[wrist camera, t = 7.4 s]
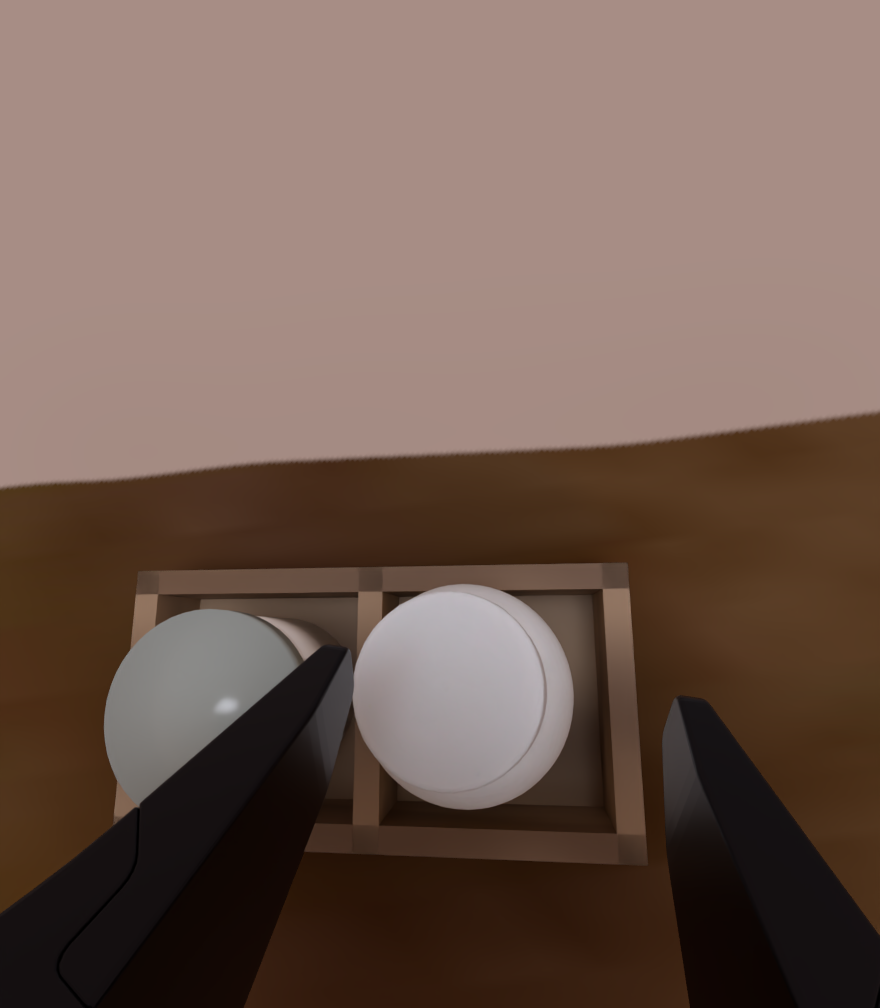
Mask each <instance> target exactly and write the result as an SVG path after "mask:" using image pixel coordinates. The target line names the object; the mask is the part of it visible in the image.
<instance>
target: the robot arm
mask: <svg viewBox="0 0 880 1008" xmlns="http://www.w3.org/2000/svg"><path fill="white" fill-rule="evenodd" d="M353 692H354V676H353V667H352V657H351V652H350V650H349V648H347V647H344V646H337V645H330V644H326V645H323V646H321V647H320V648H319V649H318V650H316V651H315V652H314V653H313V654H312V655H311V656H309V657H308V658H307V659H306V660H305V661H304V662H303V663H301V664H300V665H299V666H298V667H297V668H296V669H294V670H293V671H292V672H291V673H290V674H289V675H287V676H286V677H285V678H284V679H283V680H282V681H281V682H279V683H278V684H277V685H276V686H275V687H274V688H272V689H271V690H270V691H269V692H268V693H267V694H265V695H264V696H263V697H262V698H261V699H260V700H258V701H257V702H256V703H255V704H254V705H253V706H252V707H250V708H249V709H248V710H247V711H246V712H245V713H243V714H242V715H241V716H240V717H239V718H238V719H236V720H235V721H234V722H233V723H232V724H231V725H230V726H228V727H227V728H226V729H225V730H224V731H223V732H221V733H220V734H219V735H218V736H217V737H216V738H214V739H213V740H212V741H211V742H210V743H209V744H208V745H206V746H205V747H204V748H203V749H202V750H201V751H199V752H198V753H197V754H196V755H195V756H194V757H192V758H191V759H190V760H189V761H188V762H187V763H186V764H184V765H183V766H182V767H181V768H180V769H179V770H177V771H176V772H175V773H174V774H173V775H172V776H170V777H169V778H168V779H167V780H166V781H165V782H164V783H162V784H161V785H160V786H159V787H158V788H157V789H155V790H154V791H153V792H152V793H151V794H150V795H148V796H147V797H146V798H145V799H144V800H143V801H142V802H141V803H140V805H139V808H138V807H134V808H133V809H132V810H131V811H130V812H128V813H127V814H126V815H125V816H124V817H123V818H122V819H120V820H119V821H118V822H117V823H116V824H115V825H113V826H112V827H111V828H110V829H109V830H107V831H106V832H105V833H104V834H103V835H101V836H100V837H99V838H98V839H97V840H95V841H94V842H93V843H92V844H91V845H89V846H88V847H87V848H86V849H84V850H83V851H82V852H81V853H80V854H78V855H77V856H76V857H75V858H74V859H72V860H71V861H70V862H68V863H67V864H66V865H64V866H63V867H62V868H61V869H59V870H58V871H57V872H55V873H54V874H53V875H51V876H50V877H49V878H47V879H46V880H45V881H43V882H42V883H41V884H40V885H38V886H37V887H36V888H34V889H33V890H32V891H30V892H29V893H28V894H26V895H25V896H24V897H22V898H21V899H20V900H18V901H17V902H15V903H14V904H13V905H11V906H10V907H9V908H7V909H6V910H5V911H3V912H2V913H0V1008H244V1005H245V1003H246V1000H247V998H248V995H249V992H250V990H251V987H252V985H253V982H254V979H255V977H256V974H257V972H258V969H259V967H260V964H261V961H262V959H263V956H264V954H265V951H266V949H267V946H268V943H269V941H270V938H271V936H272V933H273V930H274V928H275V925H276V923H277V920H278V918H279V915H280V912H281V910H282V907H283V905H284V902H285V900H286V897H287V894H288V892H289V889H290V887H291V884H292V881H293V879H294V876H295V874H296V871H297V869H298V866H299V863H300V861H301V858H302V856H303V853H304V851H305V848H306V845H307V843H308V840H309V838H310V835H311V832H312V830H313V827H314V825H315V822H316V820H317V817H318V814H319V812H320V809H321V807H322V804H323V801H324V798H325V796H326V793H327V790H328V787H329V783H330V780H331V776H332V772H333V769H334V765H335V761H336V757H337V754H338V750H339V746H340V742H341V739H342V735H343V731H344V727H345V724H346V720H347V716H348V712H349V708H350V705H351V701H352V697H353ZM662 754H663V780H664V806H665V832H666V849H667V858H668V866H669V873H670V880H671V886H672V893H673V899H674V906H675V912H676V919H677V925H678V932H679V938H680V945H681V951H682V958H683V964H684V971H685V977H686V984H687V990H688V997H689V1004H690V1008H880V935H879V934H878V933H877V931H876V930H875V929H874V927H873V926H872V925H871V923H870V922H869V920H868V919H867V918H866V916H865V915H864V914H863V912H862V911H861V910H860V908H859V907H858V905H857V904H856V903H855V901H854V900H853V899H852V897H851V896H850V895H849V893H848V892H847V890H846V889H845V888H844V886H843V885H842V884H841V882H840V881H839V880H838V878H837V877H836V875H835V874H834V873H833V871H832V870H831V869H830V867H829V866H828V865H827V863H826V862H825V860H824V859H823V858H822V856H821V855H820V854H819V852H818V851H817V850H816V848H815V847H814V846H813V844H812V843H811V841H810V840H809V839H808V837H807V836H806V835H805V833H804V832H803V831H802V829H801V828H800V826H799V825H798V824H797V822H796V821H795V820H794V818H793V817H792V816H791V814H790V813H789V811H788V810H787V809H786V807H785V806H784V805H783V803H782V802H781V801H780V799H779V798H778V796H777V795H776V794H775V792H774V791H773V790H772V788H771V787H770V786H769V784H768V783H767V781H766V780H765V779H764V777H763V776H762V775H761V773H760V772H759V771H758V769H757V768H756V766H755V765H754V764H753V762H752V761H751V760H750V758H749V757H748V756H747V754H746V753H745V751H744V750H743V749H742V747H741V746H740V745H739V743H738V742H737V741H736V739H735V738H734V736H733V735H732V734H731V732H730V731H729V730H728V728H727V727H726V726H725V724H724V723H723V721H722V720H721V719H720V717H719V716H718V715H717V713H716V712H715V711H714V709H713V708H712V706H711V705H710V704H709V703H708V702H707V701H706V700H704V699H701V698H695V697H688V696H681V695H680V696H677V697H676V698H675V699H674V700H673V703H672V706H671V709H670V712H669V716H668V719H667V722H666V725H665V728H664V732H663V739H662Z"/></svg>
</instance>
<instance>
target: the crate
mask: <svg viewBox="0 0 880 1008" xmlns="http://www.w3.org/2000/svg"><path fill="white" fill-rule="evenodd" d="M456 584H472V585H481V586H486V587H490V588H494V589H497V590H500V591H503V592H505V593H507V594H509V595H511V596H513V597H515V598H517V599H519V600H520V601H522V602H523V603H525V604H526V605H528V606H529V607H530V608H531V609H532V610H534V611H535V612H536V613H537V614H538V615H539V616H540V617H541V618H542V619H543V620H544V621H545V622H546V624H547V625H548V626H549V627H550V628H551V630H552V631H553V633H554V634H555V636H556V638H557V639H558V641H559V643H560V644H561V647H562V649H563V651H564V653H565V656H566V658H567V661H568V664H569V667H570V671H571V676H572V682H573V692H574V705H573V715H572V721H571V726H570V730H569V733H568V737H567V739H566V742H565V744H564V747H563V749H562V751H561V753H560V755H559V756H558V758H557V760H556V761H555V763H554V764H553V766H552V767H551V768H550V769H549V771H548V772H547V773H546V774H545V775H544V776H543V777H542V778H541V780H540V781H539V782H537V783H536V784H535V785H534V786H533V787H532V788H530V789H529V790H527V791H526V792H525V793H523V794H522V795H520V796H518V797H516V798H514V799H512V800H510V801H508V802H505V803H502V804H500V805H496V806H493V807H490V808H483V809H473V810H463V809H452V808H446V807H442V806H439V805H435V804H432V803H429V802H427V801H425V800H423V799H421V798H419V797H417V796H415V795H414V794H412V793H410V792H409V791H407V790H406V789H404V788H403V787H402V786H401V785H400V784H399V783H397V782H396V781H395V780H394V779H393V778H392V777H391V776H390V775H389V774H388V773H387V772H386V771H385V769H384V768H383V767H382V765H381V764H380V763H379V761H378V760H377V759H376V758H375V757H374V755H373V754H372V752H371V751H370V749H369V748H368V746H367V745H366V743H365V742H364V740H363V737H362V735H361V732H360V730H359V727H358V724H357V721H356V718H355V712H354V714H353V717H352V720H351V723H350V726H349V728H348V730H347V732H346V734H345V736H344V738H343V739H342V741H341V742H340V746H339V750H338V754H337V757H336V761H335V765H334V769H333V772H332V776H331V780H330V783H329V787H328V790H327V793H326V796H325V798H324V801H323V804H322V807H321V809H320V812H319V814H318V817H317V820H316V822H315V825H314V827H313V830H312V832H311V835H310V838H309V840H308V843H307V845H306V848H305V851H304V852H324V853H349V854H373V855H398V856H422V857H447V858H471V859H496V860H520V861H545V862H569V863H594V864H618V865H643V866H648V859H647V844H646V830H645V815H644V800H643V785H642V770H641V755H640V741H639V726H638V711H637V696H636V681H635V667H634V652H633V637H632V622H631V607H630V592H629V578H628V563H584V564H526V565H469V566H411V567H354V568H296V569H239V570H181V571H138V580H137V590H136V600H135V610H134V620H133V630H132V640H131V649H132V648H133V646H134V645H135V644H136V643H137V642H138V641H139V640H140V639H141V638H142V637H143V636H144V635H145V634H146V633H148V632H149V631H150V630H151V629H153V628H154V627H156V626H157V625H159V624H160V623H162V622H164V621H166V620H168V619H169V618H171V617H174V616H177V615H179V614H182V613H185V612H190V611H194V610H203V609H218V610H230V611H239V612H244V613H249V614H252V615H254V616H263V617H276V618H289V619H298V620H303V621H307V622H310V623H312V624H315V625H317V626H318V627H320V628H322V629H324V630H325V631H326V632H328V633H329V634H330V635H331V636H332V637H333V638H334V639H336V641H337V642H338V643H339V644H340V645H341V646H344V647H347V648H349V650H350V652H351V657H352V667H353V673H354V671H355V666H356V663H357V660H358V657H359V654H360V652H361V649H362V647H363V645H364V643H365V641H366V639H367V638H368V636H369V635H370V633H371V632H372V630H373V629H374V628H375V626H376V625H377V624H378V623H379V622H380V621H381V620H382V619H383V618H384V617H385V616H386V615H387V614H388V613H390V612H391V611H392V610H394V609H395V608H396V607H397V606H399V605H400V604H402V603H404V602H406V601H408V600H410V599H412V598H414V597H416V596H418V595H420V594H422V593H424V592H426V591H429V590H432V589H435V588H438V587H442V586H447V585H456ZM134 807H138V808H139V806H138V805H136V804H135V803H134V802H133V801H132V800H131V798H130V797H129V796H128V795H127V794H126V793H125V791H124V790H123V788H122V787H121V785H120V784H119V782H118V780H117V790H116V800H115V810H114V820H113V825H115V824H116V823H117V822H118V821H119V820H120V819H122V818H123V817H124V816H125V815H126V814H127V813H128V812H130V811H131V810H132V809H133V808H134Z"/></svg>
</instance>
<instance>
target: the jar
mask: <svg viewBox="0 0 880 1008" xmlns="http://www.w3.org/2000/svg"><path fill="white" fill-rule="evenodd" d="M326 644H330V645H337V646H341V645H340V644H339V643H338V642H337V641H336V639H334V638H333V637H332V636H331V635H330V634H329V633H328V632H326V631H325V630H324V629H322V628H320V627H318V626H317V625H315V624H312V623H310V622H307V621H303V620H298V619H289V618H276V617H263V616H254V615H252V614H249V613H244V612H239V611H230V610H218V609H203V610H194V611H190V612H185V613H182V614H179V615H177V616H174V617H171V618H169V619H168V620H166V621H164V622H162V623H160V624H159V625H157V626H156V627H154V628H153V629H151V630H150V631H149V632H148V633H146V634H145V635H144V636H143V637H142V638H141V639H140V640H139V641H138V642H137V643H136V644H135V645H134V646H133V648H132V649H131V650H130V651H129V653H128V654H127V656H126V657H125V658H124V660H123V661H122V663H121V665H120V667H119V669H118V671H117V672H116V675H115V677H114V679H113V682H112V684H111V687H110V691H109V694H108V698H107V703H106V709H105V718H104V734H105V744H106V749H107V755H108V758H109V761H110V764H111V767H112V770H113V772H114V774H115V776H116V778H117V780H118V782H119V784H120V785H121V787H122V788H123V790H124V791H125V793H126V794H127V795H128V796H129V797H130V798H131V800H132V801H133V802H134V803H135V804H136V805H138V806H139V805H140V803H141V802H142V801H143V800H144V799H145V798H146V797H147V796H148V795H150V794H151V793H152V792H153V791H154V790H155V789H157V788H158V787H159V786H160V785H161V784H162V783H164V782H165V781H166V780H167V779H168V778H169V777H170V776H172V775H173V774H174V773H175V772H176V771H177V770H179V769H180V768H181V767H182V766H183V765H184V764H186V763H187V762H188V761H189V760H190V759H191V758H192V757H194V756H195V755H196V754H197V753H198V752H199V751H201V750H202V749H203V748H204V747H205V746H206V745H208V744H209V743H210V742H211V741H212V740H213V739H214V738H216V737H217V736H218V735H219V734H220V733H221V732H223V731H224V730H225V729H226V728H227V727H228V726H230V725H231V724H232V723H233V722H234V721H235V720H236V719H238V718H239V717H240V716H241V715H242V714H243V713H245V712H246V711H247V710H248V709H249V708H250V707H252V706H253V705H254V704H255V703H256V702H257V701H258V700H260V699H261V698H262V697H263V696H264V695H265V694H267V693H268V692H269V691H270V690H271V689H272V688H274V687H275V686H276V685H277V684H278V683H279V682H281V681H282V680H283V679H284V678H285V677H286V676H287V675H289V674H290V673H291V672H292V671H293V670H294V669H296V668H297V667H298V666H299V665H300V664H301V663H303V662H304V661H305V660H306V659H307V658H308V657H309V656H311V655H312V654H313V653H314V652H315V651H316V650H318V649H319V648H320V647H321V646H323V645H326ZM353 676H354V673H353ZM353 714H354V707H353V699H352V701H351V705H350V708H349V712H348V716H347V720H346V724H345V727H344V731H343V735H342V739H343V738H344V736H345V734H346V732H347V730H348V728H349V726H350V723H351V720H352V717H353ZM342 739H341V741H342Z"/></svg>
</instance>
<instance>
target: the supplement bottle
mask: <svg viewBox="0 0 880 1008" xmlns="http://www.w3.org/2000/svg"><path fill="white" fill-rule="evenodd" d="M352 699H353V707H354V712H355V718H356V721H357V724H358V727H359V730H360V732H361V735H362V737H363V740H364V742H365V743H366V745H367V746H368V748H369V749H370V751H371V752H372V754H373V755H374V757H375V758H376V759H377V760H378V761H379V763H380V764H381V765H382V767H383V768H384V769H385V771H386V772H387V773H388V774H389V775H390V776H391V777H392V778H393V779H394V780H395V781H396V782H397V783H399V784H400V785H401V786H402V787H403V788H404V789H406V790H407V791H409V792H410V793H412V794H414V795H415V796H417V797H419V798H421V799H423V800H425V801H427V802H429V803H432V804H435V805H439V806H442V807H446V808H452V809H463V810H473V809H483V808H490V807H493V806H496V805H500V804H502V803H505V802H508V801H510V800H512V799H514V798H516V797H518V796H520V795H522V794H523V793H525V792H526V791H527V790H529V789H530V788H532V787H533V786H534V785H535V784H536V783H537V782H539V781H540V780H541V778H542V777H543V776H544V775H545V774H546V773H547V772H548V771H549V769H550V768H551V767H552V766H553V764H554V763H555V761H556V760H557V758H558V756H559V755H560V753H561V751H562V749H563V747H564V744H565V742H566V739H567V737H568V733H569V730H570V726H571V721H572V715H573V705H574V692H573V682H572V676H571V671H570V667H569V664H568V661H567V658H566V656H565V653H564V651H563V649H562V647H561V644H560V643H559V641H558V639H557V638H556V636H555V634H554V633H553V631H552V630H551V628H550V627H549V626H548V625H547V624H546V622H545V621H544V620H543V619H542V618H541V617H540V616H539V615H538V614H537V613H536V612H535V611H534V610H532V609H531V608H530V607H529V606H528V605H526V604H525V603H523V602H522V601H520V600H519V599H517V598H515V597H513V596H511V595H509V594H507V593H505V592H503V591H500V590H497V589H494V588H490V587H486V586H481V585H472V584H456V585H447V586H442V587H438V588H435V589H432V590H429V591H426V592H424V593H422V594H420V595H418V596H416V597H414V598H412V599H410V600H408V601H406V602H404V603H402V604H400V605H399V606H397V607H396V608H395V609H394V610H392V611H391V612H390V613H388V614H387V615H386V616H385V617H384V618H383V619H382V620H381V621H380V622H379V623H378V624H377V625H376V626H375V628H374V629H373V630H372V632H371V633H370V635H369V636H368V638H367V639H366V641H365V643H364V645H363V647H362V649H361V652H360V654H359V657H358V660H357V663H356V666H355V671H354V692H353V697H352Z"/></svg>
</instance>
